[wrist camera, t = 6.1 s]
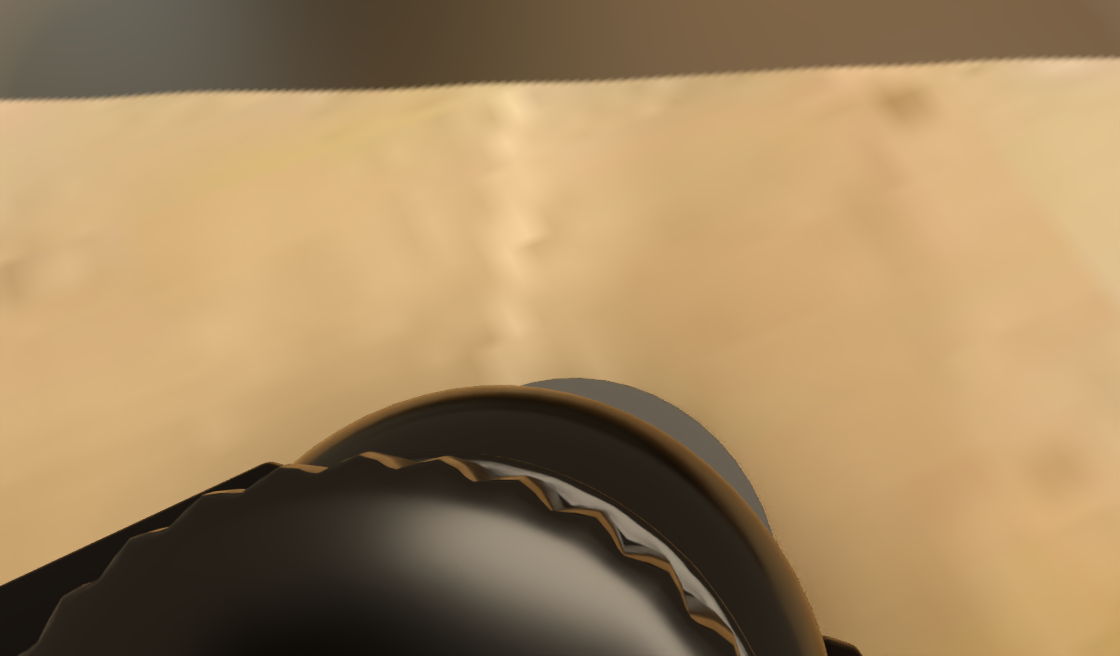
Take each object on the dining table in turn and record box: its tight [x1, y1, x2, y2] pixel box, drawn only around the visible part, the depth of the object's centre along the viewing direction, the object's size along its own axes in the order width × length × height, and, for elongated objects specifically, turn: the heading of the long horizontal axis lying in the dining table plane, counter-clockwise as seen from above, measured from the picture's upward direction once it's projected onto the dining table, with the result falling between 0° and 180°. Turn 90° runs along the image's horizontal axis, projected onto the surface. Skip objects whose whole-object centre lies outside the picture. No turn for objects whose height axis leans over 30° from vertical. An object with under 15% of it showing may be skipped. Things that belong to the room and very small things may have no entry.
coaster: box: [522, 378, 773, 536], centre depth 19 cm, size 11×11×1 cm
